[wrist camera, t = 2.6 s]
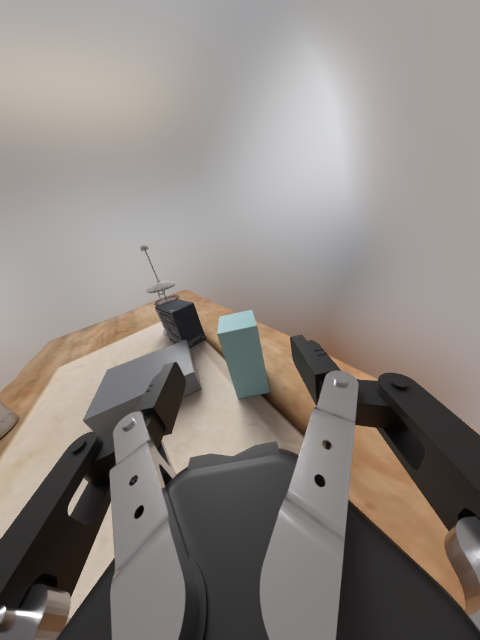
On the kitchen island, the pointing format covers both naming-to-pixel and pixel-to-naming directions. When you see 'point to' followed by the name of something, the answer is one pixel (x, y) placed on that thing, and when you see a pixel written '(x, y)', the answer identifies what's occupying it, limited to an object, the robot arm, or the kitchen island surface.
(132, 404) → the grey flat block
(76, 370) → the kitchen island surface
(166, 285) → the french press
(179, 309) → the small box
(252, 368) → the teal block
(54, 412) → the kitchen island surface
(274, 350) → the kitchen island surface
